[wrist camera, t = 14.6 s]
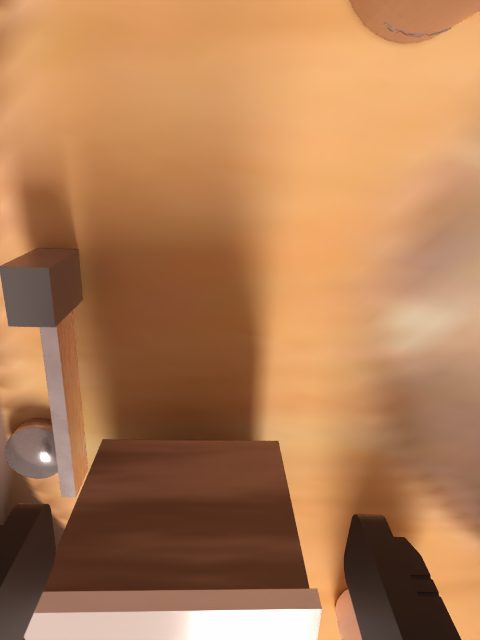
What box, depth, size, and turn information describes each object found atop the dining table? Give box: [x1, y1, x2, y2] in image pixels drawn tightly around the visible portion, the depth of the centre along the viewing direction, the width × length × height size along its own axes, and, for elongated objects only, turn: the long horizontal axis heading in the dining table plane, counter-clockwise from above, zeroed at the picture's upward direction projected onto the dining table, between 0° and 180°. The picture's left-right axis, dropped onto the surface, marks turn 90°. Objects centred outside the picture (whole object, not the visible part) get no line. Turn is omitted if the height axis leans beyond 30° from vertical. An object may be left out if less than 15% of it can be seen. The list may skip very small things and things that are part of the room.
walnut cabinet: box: [24, 439, 322, 640], centre depth 30 cm, size 13×14×19 cm
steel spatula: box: [0, 248, 88, 497], centre depth 33 cm, size 20×3×6 cm, turn 177°
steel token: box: [5, 418, 58, 479], centre depth 37 cm, size 5×5×2 cm
